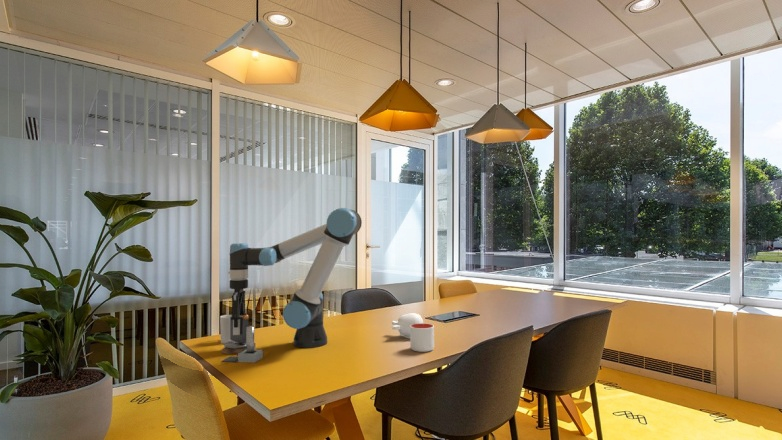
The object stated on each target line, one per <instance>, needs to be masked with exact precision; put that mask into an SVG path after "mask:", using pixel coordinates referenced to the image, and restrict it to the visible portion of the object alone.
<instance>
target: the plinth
mask: <svg viewBox="0 0 782 440" xmlns="http://www.w3.org/2000/svg"><path fill="white" fill-rule="evenodd" d="M256 345H257V344H256V342H254V349H256ZM246 349H247V348H242V349H227V348H225V347H223V348H222V350H221V353H222V354H227V355H228V354H229V355H231V354H232V355H238V354H239V353H241V352H243V351H244V350H246Z"/></svg>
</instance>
